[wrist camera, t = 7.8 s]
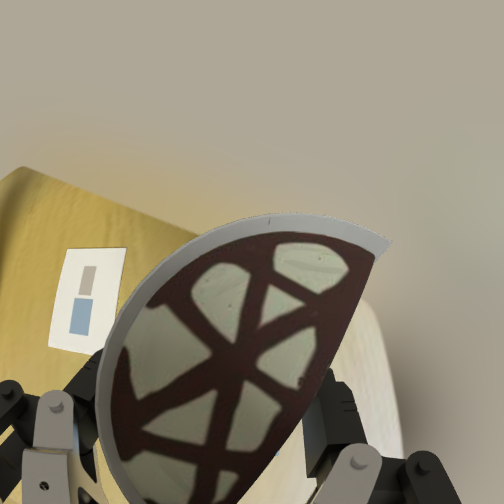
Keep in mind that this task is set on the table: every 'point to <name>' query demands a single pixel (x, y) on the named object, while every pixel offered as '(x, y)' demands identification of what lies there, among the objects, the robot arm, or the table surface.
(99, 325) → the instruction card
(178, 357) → the food container
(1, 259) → the table surface
